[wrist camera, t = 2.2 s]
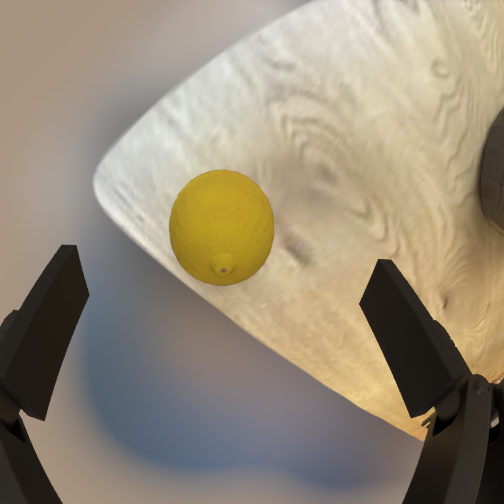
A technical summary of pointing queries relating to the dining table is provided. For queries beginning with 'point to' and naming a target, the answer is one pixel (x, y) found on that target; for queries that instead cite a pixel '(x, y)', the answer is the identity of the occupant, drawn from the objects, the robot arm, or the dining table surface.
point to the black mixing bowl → (494, 177)
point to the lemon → (221, 227)
